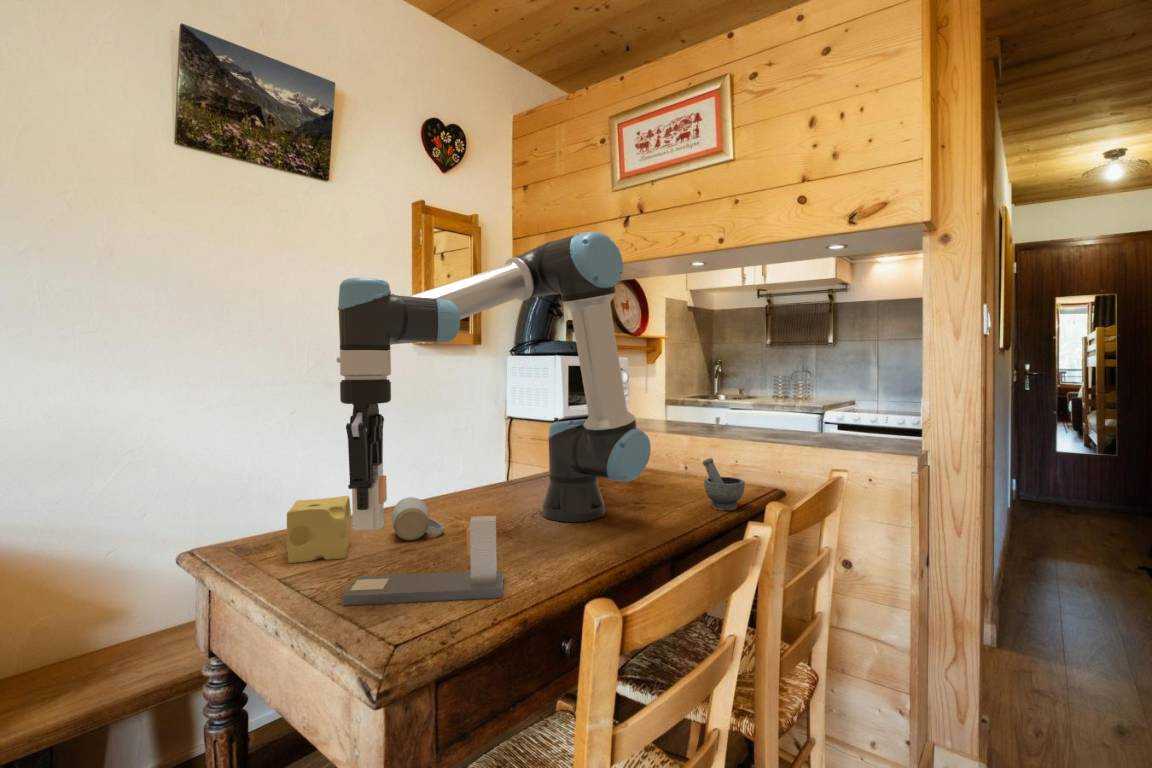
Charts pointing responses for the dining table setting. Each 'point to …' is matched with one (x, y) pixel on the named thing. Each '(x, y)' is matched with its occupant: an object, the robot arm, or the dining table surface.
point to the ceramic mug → (413, 519)
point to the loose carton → (375, 496)
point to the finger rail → (439, 576)
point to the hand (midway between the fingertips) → (367, 525)
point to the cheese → (318, 529)
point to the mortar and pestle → (722, 488)
